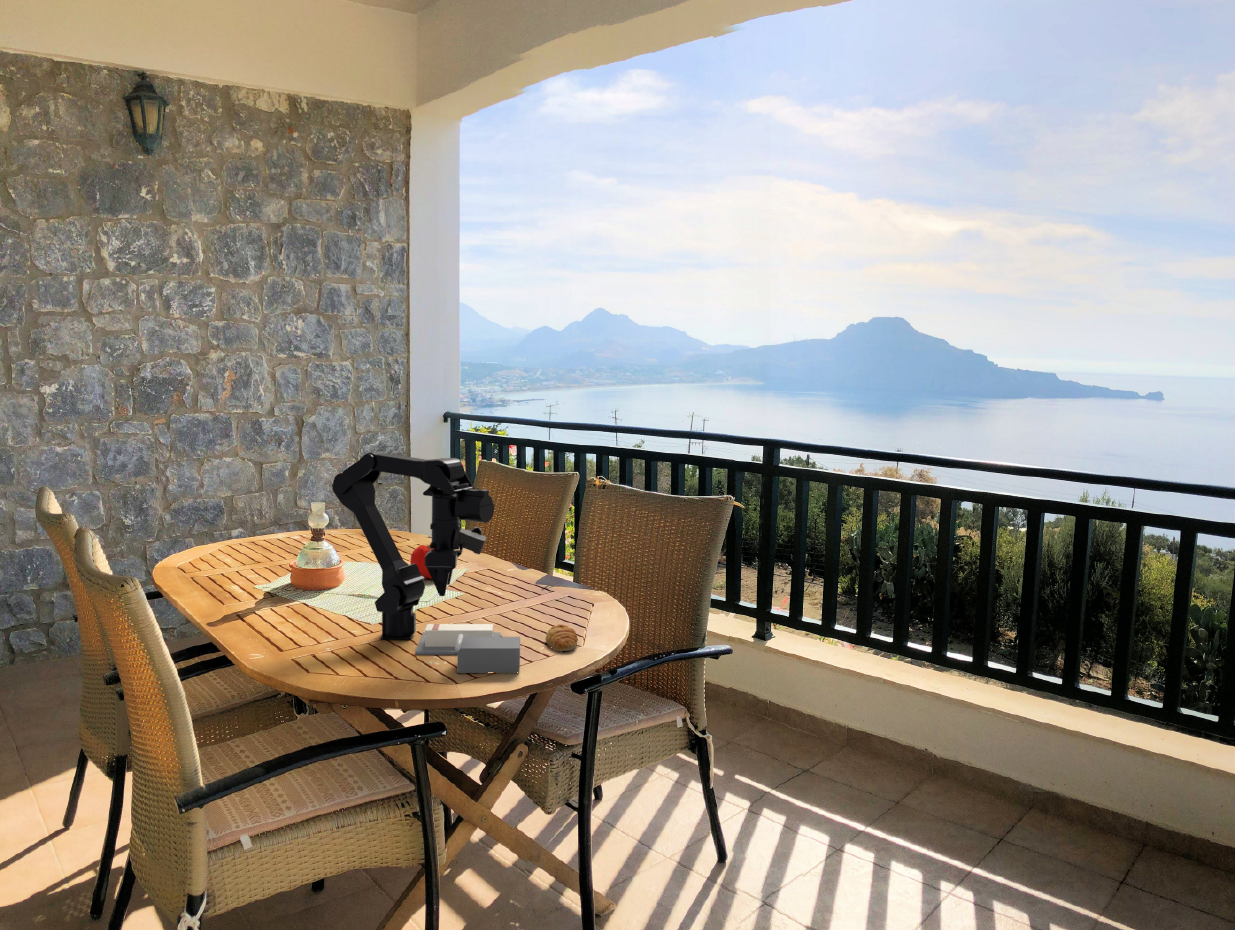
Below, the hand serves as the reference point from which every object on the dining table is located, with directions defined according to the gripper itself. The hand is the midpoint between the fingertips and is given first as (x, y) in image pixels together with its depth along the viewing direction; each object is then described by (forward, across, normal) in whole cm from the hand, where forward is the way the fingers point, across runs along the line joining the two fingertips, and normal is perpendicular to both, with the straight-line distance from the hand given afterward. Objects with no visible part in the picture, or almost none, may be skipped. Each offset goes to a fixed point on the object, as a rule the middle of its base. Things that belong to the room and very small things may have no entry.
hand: (444, 590), depth 183 cm
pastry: (+12, 0, -26) cm, 28 cm away
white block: (+11, -1, -3) cm, 12 cm away
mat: (+12, 0, -3) cm, 12 cm away
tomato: (+12, +59, +10) cm, 61 cm away
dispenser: (+12, -14, -10) cm, 21 cm away
